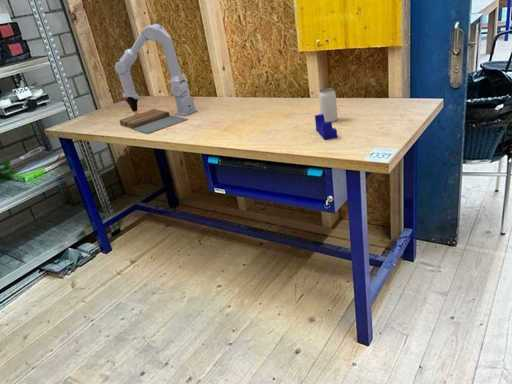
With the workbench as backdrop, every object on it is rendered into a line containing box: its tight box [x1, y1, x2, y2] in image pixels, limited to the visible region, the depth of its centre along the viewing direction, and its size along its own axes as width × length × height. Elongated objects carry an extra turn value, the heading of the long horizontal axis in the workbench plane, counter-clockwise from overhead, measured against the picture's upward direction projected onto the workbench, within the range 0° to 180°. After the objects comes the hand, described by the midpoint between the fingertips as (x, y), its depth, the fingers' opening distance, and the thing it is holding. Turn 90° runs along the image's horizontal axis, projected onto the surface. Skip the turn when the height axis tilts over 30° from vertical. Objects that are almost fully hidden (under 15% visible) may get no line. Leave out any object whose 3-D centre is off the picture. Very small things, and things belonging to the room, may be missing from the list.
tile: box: [133, 108, 152, 117], centre depth 215 cm, size 7×6×2 cm
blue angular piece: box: [314, 113, 338, 141], centre depth 152 cm, size 12×4×6 cm, turn 7°
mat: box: [132, 115, 189, 135], centre depth 203 cm, size 16×22×1 cm
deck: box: [119, 108, 171, 130], centre depth 214 cm, size 16×20×2 cm
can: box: [318, 87, 338, 123], centre depth 164 cm, size 6×6×12 cm
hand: (135, 111), depth 222 cm, fingers closed
